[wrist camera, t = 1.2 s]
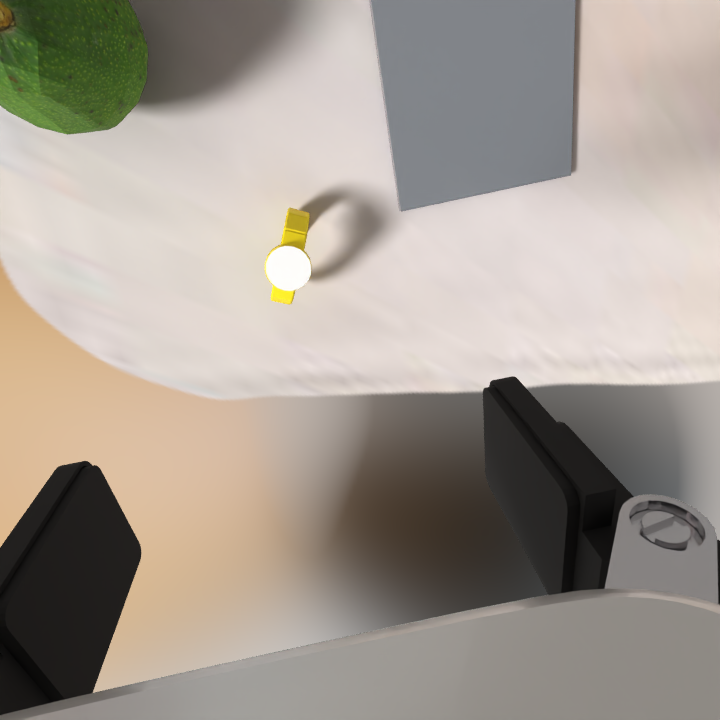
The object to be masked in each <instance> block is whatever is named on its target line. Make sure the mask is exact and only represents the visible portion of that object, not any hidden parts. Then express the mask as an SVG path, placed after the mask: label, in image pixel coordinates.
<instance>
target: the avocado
mask: <svg viewBox="0 0 720 720" xmlns="http://www.w3.org/2000/svg"><path fill="white" fill-rule="evenodd" d="M147 65H148V48H147V44H146V41H145V38H144V35H143V31H142V28H141V26H140V23H139V21H138V19H137V16H136V14H135V12H134V10H133V9H132V7H131V5H130V3H129V1H128V0H0V106H2V107H3V108H4V109H6V110H7V111H8V112H10V113H12V114H14V115H16V116H18V117H20V118H22V119H24V120H26V121H28V122H29V123H31V124H33V125H35V126H37V127H40V128H44V129H48V130H52V131H56V132H60V133H64V134H77V133H86V132H94V131H101V130H108V129H111V128H113V127H115V126H117V125H118V124H119V123H120V122H121V121H122V120H123V119H124V118H125V117H126V116H127V114H128V113H129V112H130V111H131V110H132V109H133V108H134V107H135V106H136V104H137V103H138V102H139V99H140V97H141V94H142V91H143V89H144V86H145V83H146V80H147Z"/></svg>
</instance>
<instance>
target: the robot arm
mask: <svg viewBox="0 0 720 720" xmlns="http://www.w3.org/2000/svg"><path fill="white" fill-rule="evenodd" d="M483 406H484V407H483V408H484V440H485V472H486V478H487V481H488V484H489V487H490V489H491V491H492V492H493V494H494V496H495V498H496V500H497V501H498V503H499V505H500V507H501V509H502V511H503V512H504V514H505V516H506V518H507V520H508V522H509V523H510V525H511V527H512V529H513V530H514V532H515V534H516V536H517V538H518V540H519V542H520V543H521V545H522V547H523V549H524V551H525V553H526V554H527V556H528V558H529V560H530V562H531V563H532V565H533V567H534V569H535V571H536V573H537V574H538V576H539V578H540V580H541V582H542V584H543V585H544V587H545V589H546V591H547V593H548V594H549V595H546V596H540V597H534V598H529V599H524V600H520V601H514V602H509V603H504V604H499V605H494V606H488V607H483V608H478V609H473V610H468V611H463V612H458V613H454V614H449V615H445V616H440V617H435V618H430V619H426V620H422V621H416V622H412V623H408V624H402V625H398V626H393V627H388V628H384V629H379V630H375V631H370V632H365V633H360V634H356V635H351V636H347V637H342V638H338V639H333V640H329V641H324V642H319V643H315V644H310V645H306V646H301V647H296V648H292V649H287V650H283V651H278V652H274V653H269V654H264V655H260V656H256V657H251V658H246V659H242V660H238V661H233V662H229V663H224V664H219V665H215V666H211V667H206V668H201V669H197V670H192V671H188V672H184V673H179V674H175V675H170V676H166V677H161V678H157V679H153V680H148V681H144V682H139V683H135V684H130V685H126V686H122V687H117V688H113V689H108V690H105V691H100V692H95V693H93V690H94V687H95V684H96V681H97V679H98V676H99V673H100V670H101V667H102V665H103V662H104V659H105V656H106V654H107V651H108V648H109V645H110V643H111V640H112V637H113V634H114V632H115V629H116V626H117V623H118V620H119V618H120V615H121V612H122V609H123V606H124V603H125V600H126V598H127V595H128V593H129V590H130V587H131V584H132V581H133V579H134V575H135V573H136V570H137V568H138V565H139V562H140V559H141V547H140V544H139V541H138V540H137V538H136V536H135V534H134V532H133V530H132V528H131V526H130V524H129V523H128V521H127V519H126V517H125V515H124V513H123V511H122V509H121V508H120V506H119V504H118V502H117V500H116V498H115V496H114V494H113V492H112V491H111V488H110V487H109V485H108V483H107V481H106V479H105V477H104V475H103V473H102V471H101V470H100V468H99V467H98V466H95V465H94V466H92V465H91V464H90V463H89V462H88V461H82V462H78V463H72V464H68V465H62V466H59V467H58V468H57V469H56V470H55V471H54V472H53V474H52V475H51V477H50V478H49V480H48V481H47V482H46V484H45V485H44V487H43V488H42V489H41V491H40V492H39V494H38V495H37V497H36V498H35V499H34V501H33V502H32V504H31V505H30V507H29V508H28V509H27V511H26V512H25V513H24V515H23V516H22V518H21V519H20V520H19V522H18V523H17V525H16V526H15V528H14V529H13V530H12V532H11V533H10V535H9V536H8V537H7V539H6V540H5V542H4V543H3V545H2V546H1V547H0V720H720V541H719V540H717V536H716V533H715V529H714V527H713V526H712V524H711V523H710V522H709V520H708V519H707V518H706V517H705V516H704V515H703V514H701V513H700V512H699V511H698V510H697V509H695V508H693V507H692V506H690V505H688V504H686V503H684V502H682V501H679V500H676V499H673V498H671V497H667V496H660V495H640V496H636V497H633V496H632V495H631V493H630V492H629V491H628V490H627V489H626V488H625V487H624V486H623V485H622V484H621V483H620V482H619V481H618V479H617V478H616V477H615V476H614V475H613V474H612V473H611V472H610V471H609V470H608V469H607V468H606V467H605V465H604V464H603V463H602V462H601V461H600V460H599V459H598V458H597V457H596V456H595V455H594V454H593V453H592V451H591V450H590V449H589V448H588V447H587V446H586V445H585V444H584V443H583V442H582V441H581V440H580V439H579V438H578V437H577V435H576V434H575V433H574V432H573V431H572V430H571V429H570V428H569V427H568V426H567V425H566V424H565V423H562V422H556V421H555V420H554V419H553V418H552V417H551V416H550V415H549V413H548V412H547V411H546V410H545V409H544V408H543V407H542V406H541V404H540V403H539V402H538V401H537V400H536V399H535V398H534V397H533V396H532V395H531V393H530V392H529V391H528V390H527V389H526V388H525V387H524V386H523V384H522V383H521V382H520V381H519V380H518V379H517V378H516V377H508V378H503V379H498V380H492V381H491V382H490V386H489V387H487V388H484V390H483Z"/></svg>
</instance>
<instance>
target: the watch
mask: <svg viewBox="0 0 720 720" xmlns="http://www.w3.org/2000/svg"><path fill="white" fill-rule="evenodd" d="M309 217H310V214H309V213H308V212H304V211H300V210H297V209H293V208H289V209H288V211H287V216H286V221H285V226H284V231H283V236H282V241H281V245H278V246H277V247H275V248H274V249H272V250H271V252H270V253H269V254H268V256H267V259H266V262H265V273H266V276H267V278H268V280H269V281H270V283H271V284H272V285H273V288H272V293H271V300H272V301H275V302H280V303H285V304H289V305H290V304H291V303H292V301H293V298H294V294H295V290H298V289H300V288H301V287H303V286H304V285H305V284H306V283H307V282H308V280H309V278H310V276H311V269H312V267H311V261H310V258H309V256H308V255H307V253H306V252H305V251H304V248H305V242H306V237H307V231H308V225H309Z"/></svg>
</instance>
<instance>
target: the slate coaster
mask: <svg viewBox="0 0 720 720" xmlns="http://www.w3.org/2000/svg"><path fill="white" fill-rule="evenodd" d="M370 7H371V14H372V21H373V28H374V35H375V42H376V49H377V56H378V63H379V70H380V77H381V84H382V92H383V99H384V106H385V113H386V120H387V127H388V134H389V141H390V148H391V155H392V162H393V169H394V176H395V183H396V190H397V197H398V204H399V210H400V211H406V210H410V209H415V208H420V207H424V206H429V205H434V204H439V203H443V202H448V201H453V200H457V199H462V198H467V197H471V196H476V195H481V194H485V193H490V192H495V191H499V190H504V189H509V188H514V187H518V186H523V185H528V184H532V183H537V182H542V181H546V180H551V179H556V178H560V177H565V176H570V175H571V162H572V121H573V80H574V39H575V0H370Z"/></svg>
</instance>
